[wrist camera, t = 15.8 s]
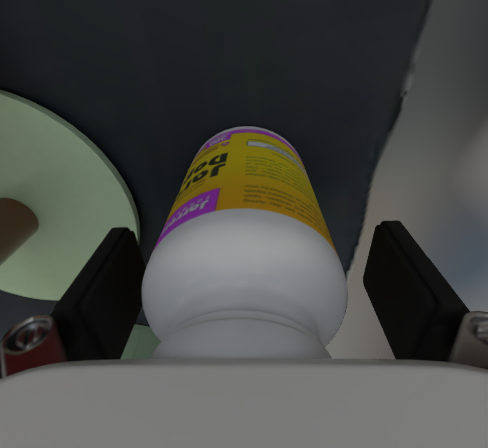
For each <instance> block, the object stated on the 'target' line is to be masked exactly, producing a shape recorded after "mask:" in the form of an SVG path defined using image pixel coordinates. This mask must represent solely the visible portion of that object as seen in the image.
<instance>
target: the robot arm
mask: <svg viewBox="0 0 488 448" xmlns="http://www.w3.org/2000/svg"><path fill="white" fill-rule="evenodd" d="M145 270H146V267H145V264H144V261H143V258H142V255H141V251H140V248H139V245H138V242H137V239H136V235H135V233H134V231H130V229H129V228H128V227H114V228H112V229H111V230H110V231H109V232H108V234H107V235H106V236H105V238H104V239H103V241H102V242H101V243H100V245H99V246H98V248H97V249H96V250H95V252H94V253H93V254H92V256H91V257H90V259H89V260H88V261H87V263H86V264H85V266H84V267H83V268H82V270H81V271H80V272H79V274H78V275H77V277H76V278H75V279H74V281H73V282H72V284H71V285H70V286H69V288H68V289H67V290H66V292H65V293H64V295H63V296H62V297H61V299H60V300H59V301H58V303H57V304H56V306H55V307H54V311H53V312H52V313H51V315H50V316H49V315H37V316H33V317H30V318H27V319H25V320H23V321H21V322H20V323H18V324H16V325H15V326H14V327H12V328H11V329H10V330H9V331H8V332H7V333H6V334H5V335H4V337H3V339H2V340H1V342H0V448H488V312H483V311H471V312H470V311H469V310H468V308H467V307H466V306H465V304H464V303H463V302H462V300H461V299H460V298H459V297H458V295H457V294H456V293H455V291H454V290H453V289H452V288H451V286H450V285H449V284H448V282H447V281H446V280H445V278H444V277H443V276H442V275H441V273H440V272H439V271H438V270H437V268H436V267H435V266H434V264H433V263H432V262H431V260H430V259H429V258H428V257H427V256H426V255H425V253H424V252H423V250H422V249H421V248H420V247H419V245H418V244H417V243H416V241H415V240H414V239H413V237H412V236H411V235H410V234H409V232H408V231H407V230H406V228H405V227H404V226H403V225H402V223H401V222H400V221H382V222H381V224H380V225H377V226H376V227H375V231H374V235H373V239H372V244H371V247H370V251H369V256H368V260H367V264H366V268H365V272H364V276H363V283H364V287H365V289H366V291H367V293H368V296H369V298H370V301H371V303H372V305H373V308H374V310H375V312H376V315H377V317H378V319H379V321H380V324H381V326H382V328H383V331H384V333H385V335H386V338H387V340H388V342H389V345H390V347H391V349H392V352H393V354H394V356H395V358H396V359H121V356H122V354H123V351H124V349H125V347H126V344H127V342H128V339H129V337H130V334H131V332H132V329H133V327H134V324H135V322H136V320H137V317H138V315H139V312H140V310H141V307H142V305H143V304H142V282H143V277H144V273H145Z"/></svg>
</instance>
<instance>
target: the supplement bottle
mask: <svg viewBox="0 0 488 448" xmlns="http://www.w3.org/2000/svg"><path fill="white" fill-rule="evenodd" d="M347 299H348V292H347V283H346V279H345V274H344V271H343V268H342V265H341V263H340V260H339V257H338V255H337V252H336V250H335V247H334V245H333V242H332V239H331V237H330V234H329V232H328V229H327V226H326V224H325V221H324V218H323V216H322V213H321V210H320V208H319V205H318V202H317V199H316V197H315V194H314V191H313V189H312V186H311V184H310V181H309V178H308V175H307V173H306V170H305V168H304V165H303V163H302V161H301V158H300V157H299V155H298V153H297V152H296V150H295V149H294V148H293V146H292V145H291V144H290V143H289V142H288V141H286V140H285V139H284V138H283V137H281V136H279V135H278V134H276V133H274V132H272V131H269V130H267V129H263V128H259V127H252V126H243V127H235V128H231V129H228V130H224V131H222V132H220V133H218V134H216V135H215V136H213V137H212V138H211V139H209V140H208V141H207V142H206V143H205V144H204V145H203V146H202V147H201V148H200V150H199V151H198V153H197V154H196V156H195V158H194V160H193V162H192V164H191V166H190V168H189V170H188V172H187V175H186V177H185V179H184V182H183V183H182V186H181V188H180V190H179V193H178V196H177V198H176V200H175V202H174V205H173V207H172V209H171V212H170V214H169V216H168V219H167V221H166V223H165V226H164V228H163V230H162V232H161V234H160V237H159V239H158V241H157V243H156V246H155V248H154V250H153V252H152V255H151V257H150V260H149V262H148V265H147V267H146V270H145V273H144V277H143V282H142V304H143V309H144V313H145V316H146V319H147V321H148V323H149V325H150V327H151V329H152V331H153V332H154V334H155V335H156V336H157V337H158V339H159V340H160V341H161V343H160V344H159V345H158V346H157V347H156V349H155V350H154V352H153V353H152V356H151V358H150V359H332V358H331V356H330V354H329V353H328V352H327V350H326V349H325V346H326V345H327V344H328V343H329V342H330V341H331V340H332V339H333V337H334V336H335V334H336V333H337V331H338V330H339V328H340V326H341V324H342V321H343V318H344V315H345V312H346V308H347Z"/></svg>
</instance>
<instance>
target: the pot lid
mask: <svg viewBox="0 0 488 448" xmlns="http://www.w3.org/2000/svg"><path fill="white" fill-rule="evenodd" d="M114 227H128V228H129V229H130V231H134V233H135V235H136V239H137V242H138V245H139V241H140V222H139V217H138V213H137V208H136V206H135V203H134V200H133V198H132V195H131V193H130V191H129V189H128V187H127V185H126V183H125V181H124V180H123V178H122V177H121V175H120V174H119V172H118V171H117V169H116V168H115V166H114V165H113V164H112V163H111V162H110V160H109V159H108V158H107V157H106V156H105V154H104V153H103V152H102V151H101V150H100V149H99V148H98V147H97V146H96V145H95V144H94V143H93V142H92V141H91V140H90V139H89V138H88V137H86V136H85V135H84V134H83V133H81V132H80V131H79V130H78V129H76V128H75V127H74V126H73V125H71V124H70V123H68V122H67V121H65V120H64V119H62V118H61V117H59V116H58V115H56V114H55V113H53V112H52V111H50V110H48V109H46V108H44V107H42V106H40V105H38V104H36V103H34V102H32V101H30V100H27V99H25V98H22V97H20V96H17V95H15V94H12V93H10V92H6V91H3V90H0V290H3V291H6V292H9V293H13V294H17V295H20V296H25V297H30V298H35V299H44V300H60V299H61V297H62V296H63V295H64V293H65V292H66V290H67V289H68V288H69V286H70V285H71V284H72V282H73V281H74V279H75V278H76V277H77V275H78V274H79V272H80V271H81V270H82V268H83V267H84V266H85V264H86V263H87V261H88V260H89V259H90V257H91V256H92V254H93V253H94V252H95V250H96V249H97V248H98V246H99V245H100V243H101V242H102V241H103V239H104V238H105V236H106V235H107V234H108V232H109V231H110V230H111V229H112V228H114Z"/></svg>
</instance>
